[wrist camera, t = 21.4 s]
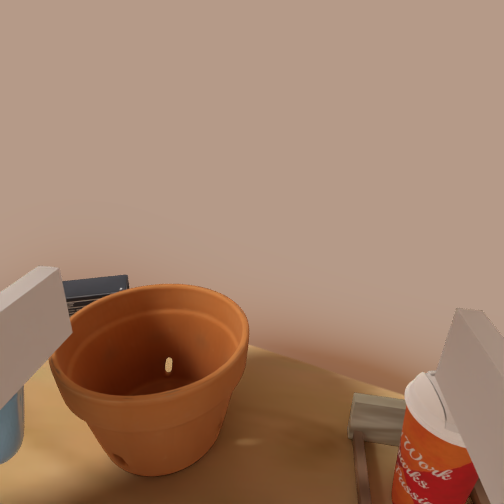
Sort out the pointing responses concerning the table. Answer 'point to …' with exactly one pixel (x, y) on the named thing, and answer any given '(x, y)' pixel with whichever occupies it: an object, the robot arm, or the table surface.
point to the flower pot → (153, 372)
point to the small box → (91, 290)
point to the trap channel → (382, 437)
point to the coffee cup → (431, 450)
